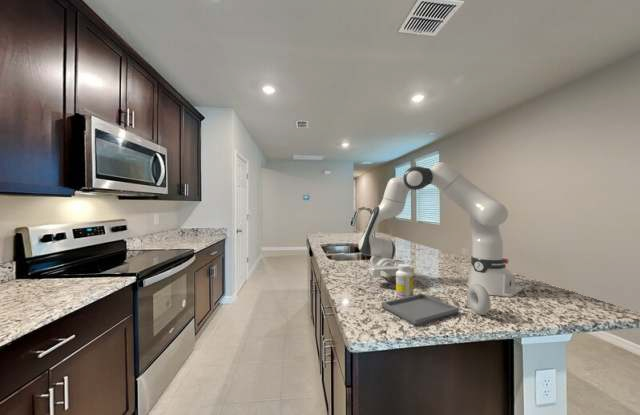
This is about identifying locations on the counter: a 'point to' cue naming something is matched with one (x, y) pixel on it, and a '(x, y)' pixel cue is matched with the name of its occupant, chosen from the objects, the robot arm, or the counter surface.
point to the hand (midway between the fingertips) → (397, 275)
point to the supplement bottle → (404, 281)
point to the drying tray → (419, 309)
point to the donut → (478, 299)
